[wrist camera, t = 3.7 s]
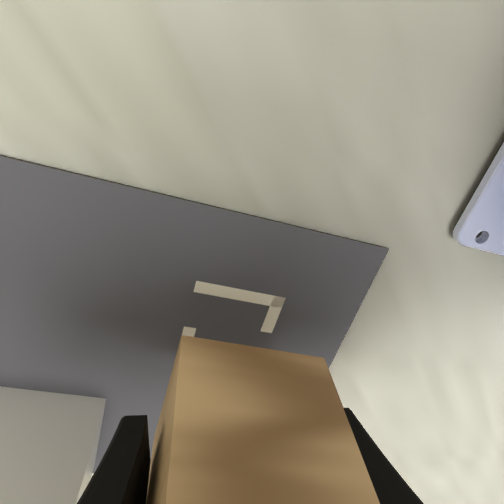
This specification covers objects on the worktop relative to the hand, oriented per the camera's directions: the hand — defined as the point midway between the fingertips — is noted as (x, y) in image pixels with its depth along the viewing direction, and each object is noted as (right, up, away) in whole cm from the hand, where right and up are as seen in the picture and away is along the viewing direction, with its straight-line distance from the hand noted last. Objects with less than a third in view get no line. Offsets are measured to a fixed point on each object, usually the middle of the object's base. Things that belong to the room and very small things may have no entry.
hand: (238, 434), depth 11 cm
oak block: (0, +1, +1) cm, 1 cm away
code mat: (-4, +1, +5) cm, 6 cm away
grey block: (-9, -2, +6) cm, 11 cm away
